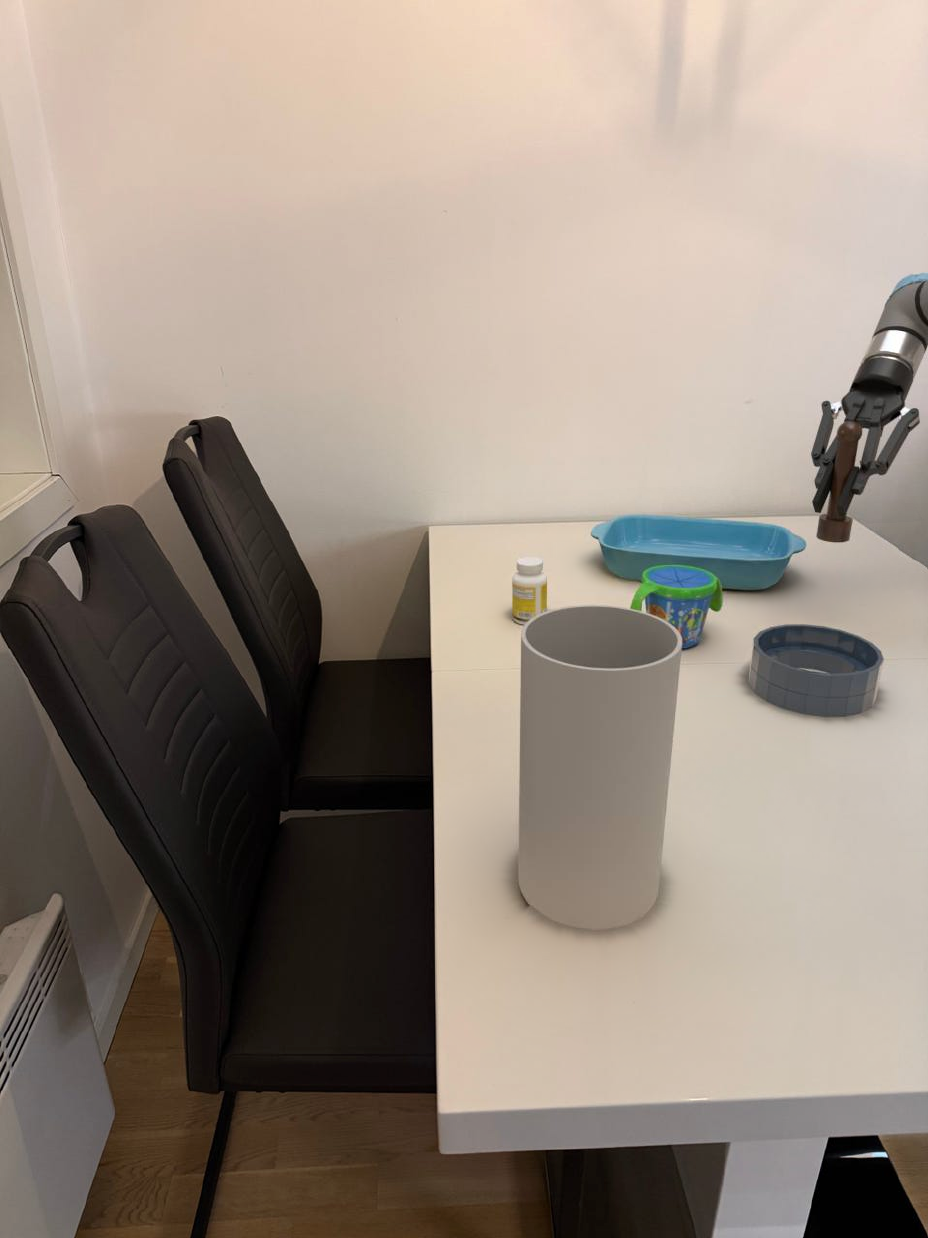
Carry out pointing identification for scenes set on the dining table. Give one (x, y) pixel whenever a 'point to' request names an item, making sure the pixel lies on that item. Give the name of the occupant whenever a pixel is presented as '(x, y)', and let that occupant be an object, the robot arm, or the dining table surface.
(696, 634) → the snack cup
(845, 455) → the pestle
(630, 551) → the casserole dish
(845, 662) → the ring
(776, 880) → the dining table surface
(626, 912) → the cylinder vase
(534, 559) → the supplement bottle
